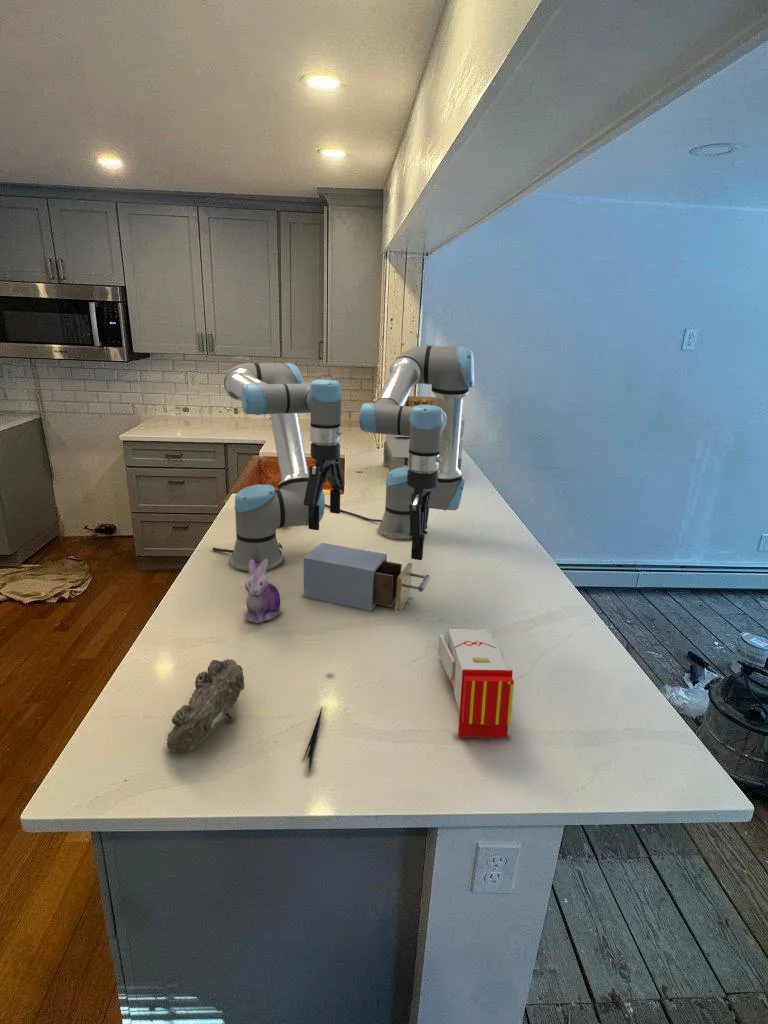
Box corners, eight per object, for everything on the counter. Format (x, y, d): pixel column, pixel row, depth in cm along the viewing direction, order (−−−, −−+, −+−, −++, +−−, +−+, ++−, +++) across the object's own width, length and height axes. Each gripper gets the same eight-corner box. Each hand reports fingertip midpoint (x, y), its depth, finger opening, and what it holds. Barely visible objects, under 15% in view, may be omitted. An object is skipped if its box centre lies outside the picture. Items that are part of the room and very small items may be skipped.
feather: (331, 679, 122) (336, 673, 122) (307, 777, 96) (313, 769, 95) (324, 675, 122) (329, 669, 121) (298, 772, 95) (304, 764, 95)
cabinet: (385, 591, 159) (387, 554, 155) (371, 610, 149) (373, 570, 145) (321, 579, 164) (321, 542, 160) (303, 596, 154) (303, 557, 150)
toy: (488, 613, 130) (523, 677, 101) (484, 667, 133) (517, 744, 104) (435, 612, 130) (455, 676, 101) (432, 666, 133) (451, 743, 103)
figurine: (250, 628, 138) (248, 572, 133) (239, 608, 146) (237, 555, 141) (287, 620, 142) (286, 565, 137) (275, 601, 150) (274, 550, 145)
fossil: (192, 660, 117) (244, 628, 112) (224, 691, 120) (276, 661, 115) (142, 746, 98) (202, 712, 93) (182, 779, 101) (242, 748, 96)
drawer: (429, 598, 154) (432, 566, 151) (420, 616, 145) (422, 582, 142) (348, 582, 161) (349, 551, 158) (334, 598, 152) (334, 566, 149)
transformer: (382, 463, 289) (386, 382, 275) (445, 464, 293) (451, 384, 279) (390, 482, 257) (394, 392, 243) (460, 483, 261) (468, 394, 247)
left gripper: (317, 455, 132) (317, 539, 139) (357, 435, 154) (355, 508, 161) (289, 451, 134) (290, 534, 141) (331, 432, 156) (330, 504, 163)
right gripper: (431, 478, 131) (424, 571, 139) (444, 465, 143) (437, 551, 151) (400, 474, 133) (395, 565, 141) (415, 462, 145) (409, 546, 153)
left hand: (324, 520), depth 151 cm, fingers open, 13 cm apart
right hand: (416, 558), depth 146 cm, fingers closed
